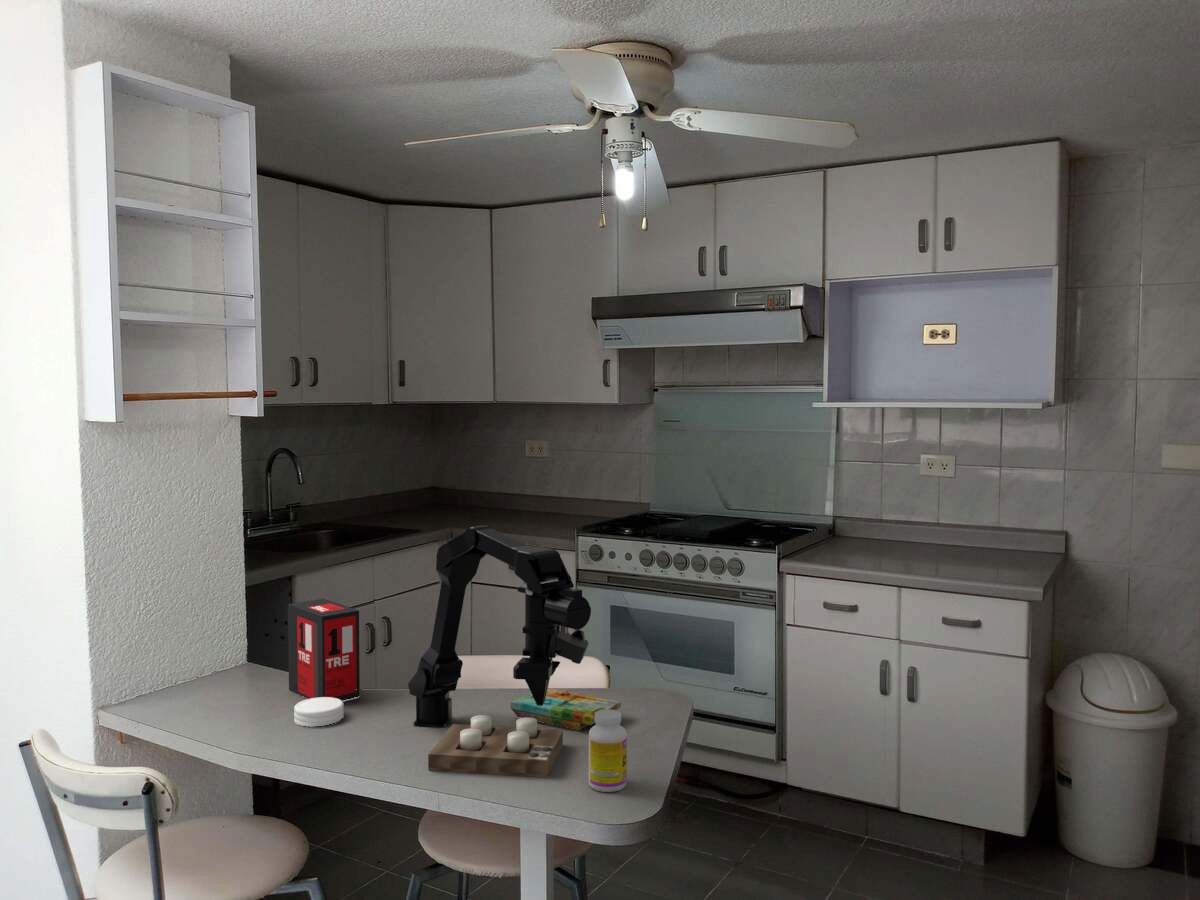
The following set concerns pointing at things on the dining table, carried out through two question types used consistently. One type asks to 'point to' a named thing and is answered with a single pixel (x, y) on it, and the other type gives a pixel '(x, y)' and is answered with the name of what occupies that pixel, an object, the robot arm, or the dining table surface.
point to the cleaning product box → (323, 649)
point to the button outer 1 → (470, 739)
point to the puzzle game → (563, 708)
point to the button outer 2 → (518, 742)
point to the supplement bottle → (607, 752)
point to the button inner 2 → (527, 726)
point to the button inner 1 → (482, 724)
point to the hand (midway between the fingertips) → (540, 704)
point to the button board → (497, 753)
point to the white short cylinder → (318, 711)
